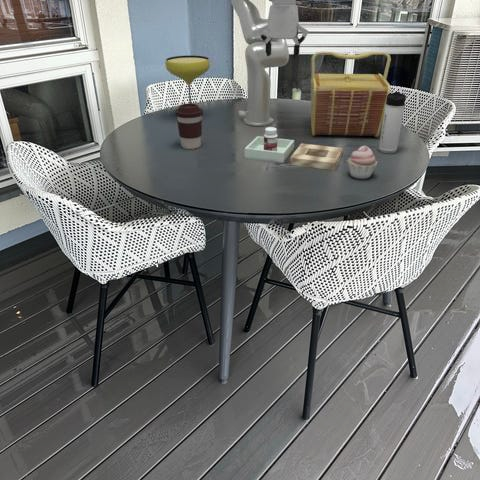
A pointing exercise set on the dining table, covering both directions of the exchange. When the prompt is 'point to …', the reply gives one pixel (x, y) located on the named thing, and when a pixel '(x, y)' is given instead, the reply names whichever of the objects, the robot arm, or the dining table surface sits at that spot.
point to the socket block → (316, 156)
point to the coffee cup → (189, 125)
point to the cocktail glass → (188, 68)
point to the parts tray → (258, 153)
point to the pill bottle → (270, 139)
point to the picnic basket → (348, 100)
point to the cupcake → (362, 163)
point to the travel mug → (392, 122)
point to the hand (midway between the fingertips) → (282, 56)
